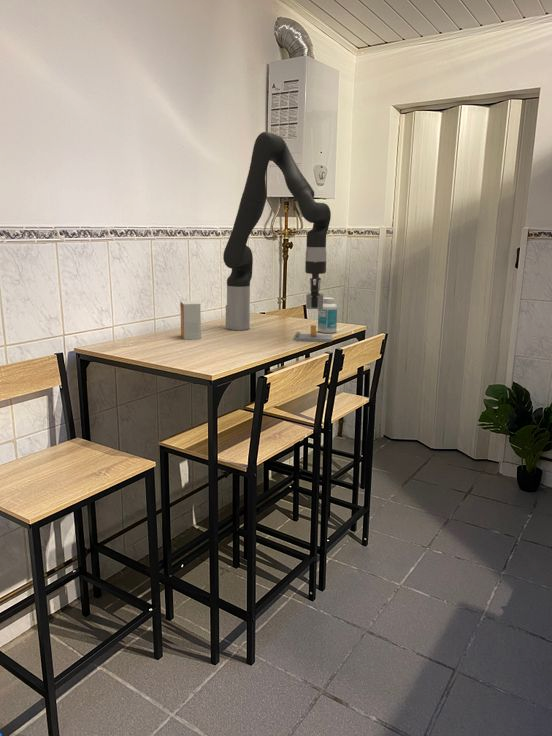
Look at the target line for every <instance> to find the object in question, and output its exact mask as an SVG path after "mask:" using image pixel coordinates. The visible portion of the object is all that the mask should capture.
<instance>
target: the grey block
mask: <svg viewBox="0 0 552 736" xmlns="http://www.w3.org/2000/svg"><path fill="white" fill-rule="evenodd" d="M306 293H307V294H306V297H305V299H306V302H305V303H306V305H305V309H306V310H318V309H323V298H324V293H320V292H319V293H318V305H317V308H312V307H311V299H312V297H311V292H310V293H308V292H306Z"/></svg>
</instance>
